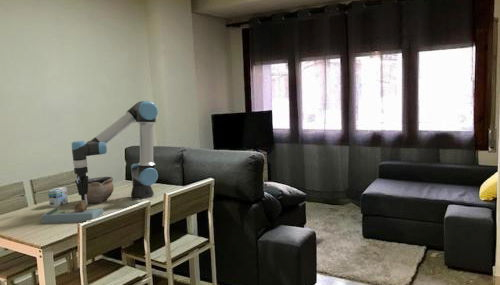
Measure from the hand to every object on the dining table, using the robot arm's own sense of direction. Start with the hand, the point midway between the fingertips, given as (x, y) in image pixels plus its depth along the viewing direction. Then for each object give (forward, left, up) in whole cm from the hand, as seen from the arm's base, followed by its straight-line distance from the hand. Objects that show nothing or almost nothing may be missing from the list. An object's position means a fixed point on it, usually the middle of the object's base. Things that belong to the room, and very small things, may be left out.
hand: (84, 204), depth 254 cm
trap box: (+1, +12, -4) cm, 13 cm away
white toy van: (+27, -20, -5) cm, 34 cm away
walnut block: (-1, +8, -2) cm, 9 cm away
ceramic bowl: (+3, -25, -5) cm, 26 cm away
